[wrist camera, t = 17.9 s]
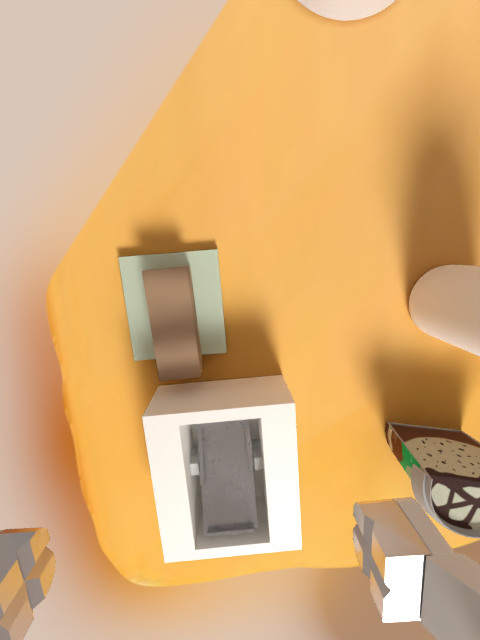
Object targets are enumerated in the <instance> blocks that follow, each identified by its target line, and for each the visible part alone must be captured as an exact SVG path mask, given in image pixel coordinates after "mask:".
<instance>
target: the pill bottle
mask: <svg viewBox="0 0 480 640" xmlns="http://www.w3.org/2000/svg"><path fill="white" fill-rule="evenodd" d="M409 312H410V316H411V318H412V320H413V322H414V323H415V325H416V326H417V327H418V328H419V329H420V330H422V331H423V332H425V333H426V334H428V335H430V336H433V337H435V338H437V339H440V340H442V341H445V342H447V343H449V344H452V345H454V346H456V347H459V348H461V349H464V350H466V351H468V352H471V353H473V354H475V355H478V356H480V266H471V265H444V266H439V267H436V268H434V269H432V270H430V271H428V272H427V273H425V274H424V275H423V276H422V277H421V278H420V279H419V280H418V281H417V282H416V284H415V285H414V287H413V289H412V291H411V294H410V298H409Z"/></svg>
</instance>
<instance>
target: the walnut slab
mask: <svg viewBox="0 0 480 640" xmlns="http://www.w3.org/2000/svg"><path fill="white" fill-rule="evenodd" d="M142 276H143V282H144V288H145V295H146V301H147V307H148V314H149V320H150V326H151V332H152V339H153V345H154V351H155V358H156V364H157V370H158V376H159V381H167V380H177V379H186V378H196V377H201V375H202V370H203V362H202V354H201V346H200V338H199V330H198V323H197V315H196V307H195V299H194V291H193V284H192V276H191V268H190V266H181V267H171V268H161V269H151V270H145V271H142Z"/></svg>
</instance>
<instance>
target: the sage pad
mask: <svg viewBox="0 0 480 640" xmlns="http://www.w3.org/2000/svg"><path fill="white" fill-rule="evenodd" d="M118 258H119V265H120V271H121V278H122V284H123V290H124V297H125V303H126V310H127V316H128V323H129V329H130V336H131V342H132V348H133V355H134V361H139V360H150V359H156V358H155V351H154V345H153V339H152V332H151V326H150V320H149V314H148V307H147V301H146V295H145V288H144V282H143V276H142V271H145V270H151V269H161V268H171V267H181V266H190V268H191V276H192V284H193V291H194V299H195V307H196V315H197V323H198V330H199V338H200V346H201V354H202V355H208V354H219V353H227V346H226V335H225V324H224V313H223V303H222V292H221V281H220V270H219V259H218V249H214V250H201V251H189V252H177V253H164V254H152V255H140V256H127V257H118Z"/></svg>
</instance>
